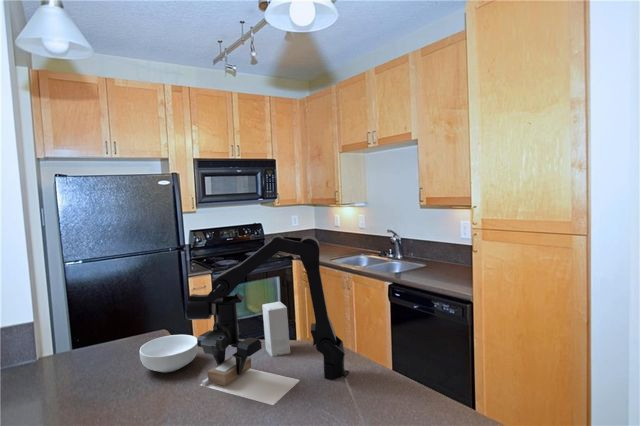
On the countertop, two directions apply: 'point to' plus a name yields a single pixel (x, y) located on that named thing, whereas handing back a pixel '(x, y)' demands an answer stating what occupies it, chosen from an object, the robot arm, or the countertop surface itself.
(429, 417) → the countertop surface
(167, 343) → the cereal bowl
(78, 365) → the countertop surface
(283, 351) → the skincare box
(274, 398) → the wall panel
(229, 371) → the frame
